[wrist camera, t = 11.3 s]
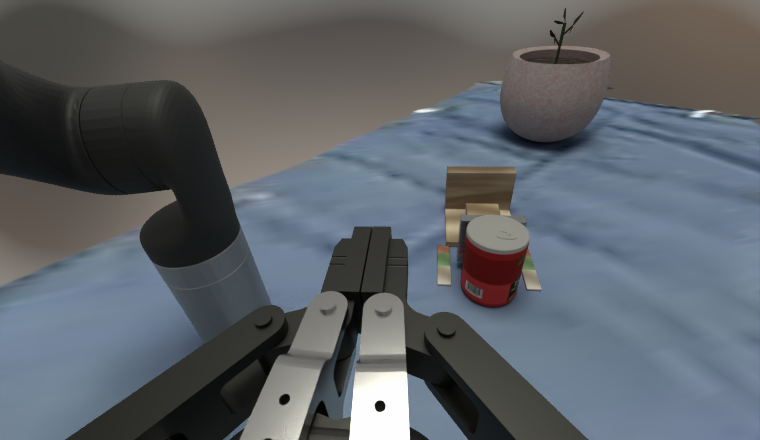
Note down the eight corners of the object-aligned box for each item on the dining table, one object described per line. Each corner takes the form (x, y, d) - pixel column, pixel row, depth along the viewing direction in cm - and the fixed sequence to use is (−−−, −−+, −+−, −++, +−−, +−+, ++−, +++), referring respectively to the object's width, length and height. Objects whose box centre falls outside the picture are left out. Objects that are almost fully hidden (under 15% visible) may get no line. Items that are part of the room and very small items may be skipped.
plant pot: (477, 130, 99) (490, 10, 81) (546, 116, 104) (572, 0, 86) (531, 164, 80) (564, 18, 62) (612, 145, 85) (663, 5, 67)
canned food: (520, 310, 47) (536, 252, 40) (461, 306, 48) (468, 249, 41) (510, 271, 53) (523, 214, 46) (458, 268, 54) (464, 213, 48)
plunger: (516, 264, 52) (526, 222, 47) (457, 261, 53) (461, 220, 48) (503, 217, 62) (511, 178, 57) (453, 216, 63) (456, 178, 58)
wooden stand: (541, 290, 49) (556, 244, 44) (437, 285, 51) (439, 240, 46) (514, 207, 66) (522, 166, 61) (437, 205, 69) (439, 166, 63)
